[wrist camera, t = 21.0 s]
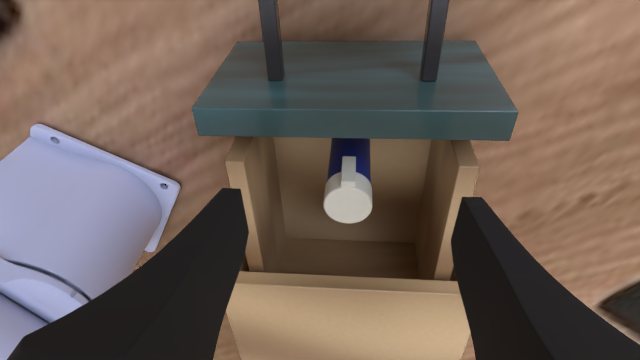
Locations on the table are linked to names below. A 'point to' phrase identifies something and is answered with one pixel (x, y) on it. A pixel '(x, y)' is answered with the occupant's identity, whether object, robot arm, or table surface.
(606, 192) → the table surface
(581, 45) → the table surface
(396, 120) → the drawer
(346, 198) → the pen
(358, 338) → the cabinet
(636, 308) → the table surface
